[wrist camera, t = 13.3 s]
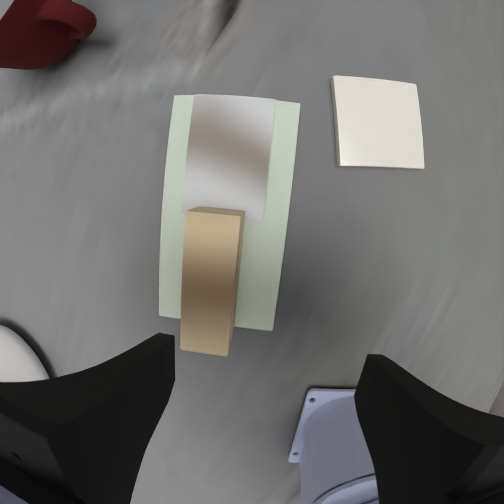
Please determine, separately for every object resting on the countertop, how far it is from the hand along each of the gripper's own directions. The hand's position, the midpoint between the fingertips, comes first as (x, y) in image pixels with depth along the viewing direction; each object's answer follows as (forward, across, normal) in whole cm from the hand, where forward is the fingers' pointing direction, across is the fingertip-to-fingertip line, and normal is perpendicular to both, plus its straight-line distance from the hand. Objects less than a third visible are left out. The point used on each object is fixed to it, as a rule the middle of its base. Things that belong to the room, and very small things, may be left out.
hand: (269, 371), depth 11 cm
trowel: (+10, +3, -1) cm, 10 cm away
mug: (+11, +18, -18) cm, 27 cm away
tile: (+10, -6, -9) cm, 15 cm away
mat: (+10, +3, -4) cm, 12 cm away
